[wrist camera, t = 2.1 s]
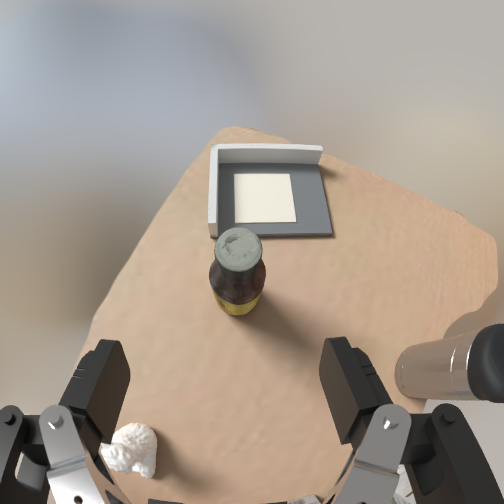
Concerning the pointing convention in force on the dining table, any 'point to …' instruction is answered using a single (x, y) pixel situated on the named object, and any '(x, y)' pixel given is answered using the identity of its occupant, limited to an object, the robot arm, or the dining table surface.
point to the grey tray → (267, 190)
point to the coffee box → (305, 500)
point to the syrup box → (403, 489)
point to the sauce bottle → (237, 271)
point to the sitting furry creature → (132, 450)
